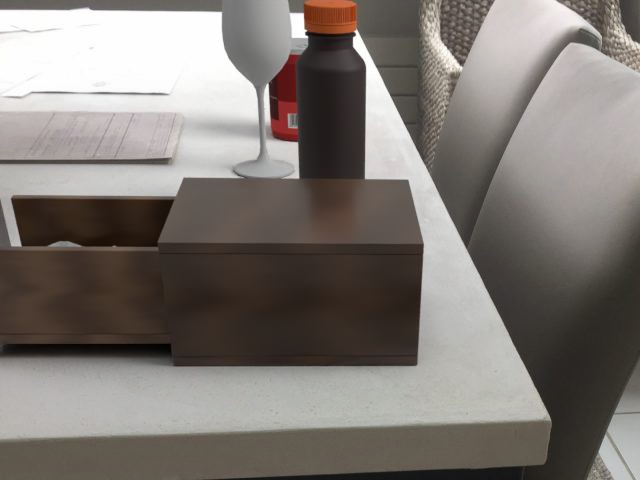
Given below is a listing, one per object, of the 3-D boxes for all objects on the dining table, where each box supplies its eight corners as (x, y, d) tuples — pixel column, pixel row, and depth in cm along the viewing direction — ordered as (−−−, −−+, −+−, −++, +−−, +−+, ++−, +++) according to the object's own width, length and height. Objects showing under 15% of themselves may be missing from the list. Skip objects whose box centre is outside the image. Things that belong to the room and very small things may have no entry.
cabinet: (173, 366, 68) (157, 242, 62) (195, 287, 79) (183, 177, 73) (417, 365, 69) (424, 243, 63) (403, 288, 80) (408, 179, 75)
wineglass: (230, 161, 109) (215, -39, 97) (293, 159, 111) (286, -39, 98) (234, 180, 103) (218, -30, 91) (299, 178, 105) (293, -30, 92)
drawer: (-138, 352, 66) (-175, 250, 62) (-74, 280, 77) (-102, 188, 72) (191, 351, 68) (179, 251, 63) (209, 280, 78) (200, 190, 74)
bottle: (374, 214, 96) (378, 1, 83) (348, 234, 91) (349, 11, 78) (317, 205, 98) (312, -5, 85) (288, 224, 92) (280, 4, 80)
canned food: (341, 135, 120) (341, 44, 113) (296, 145, 116) (292, 51, 109) (304, 123, 124) (302, 35, 118) (259, 133, 120) (254, 41, 113)
